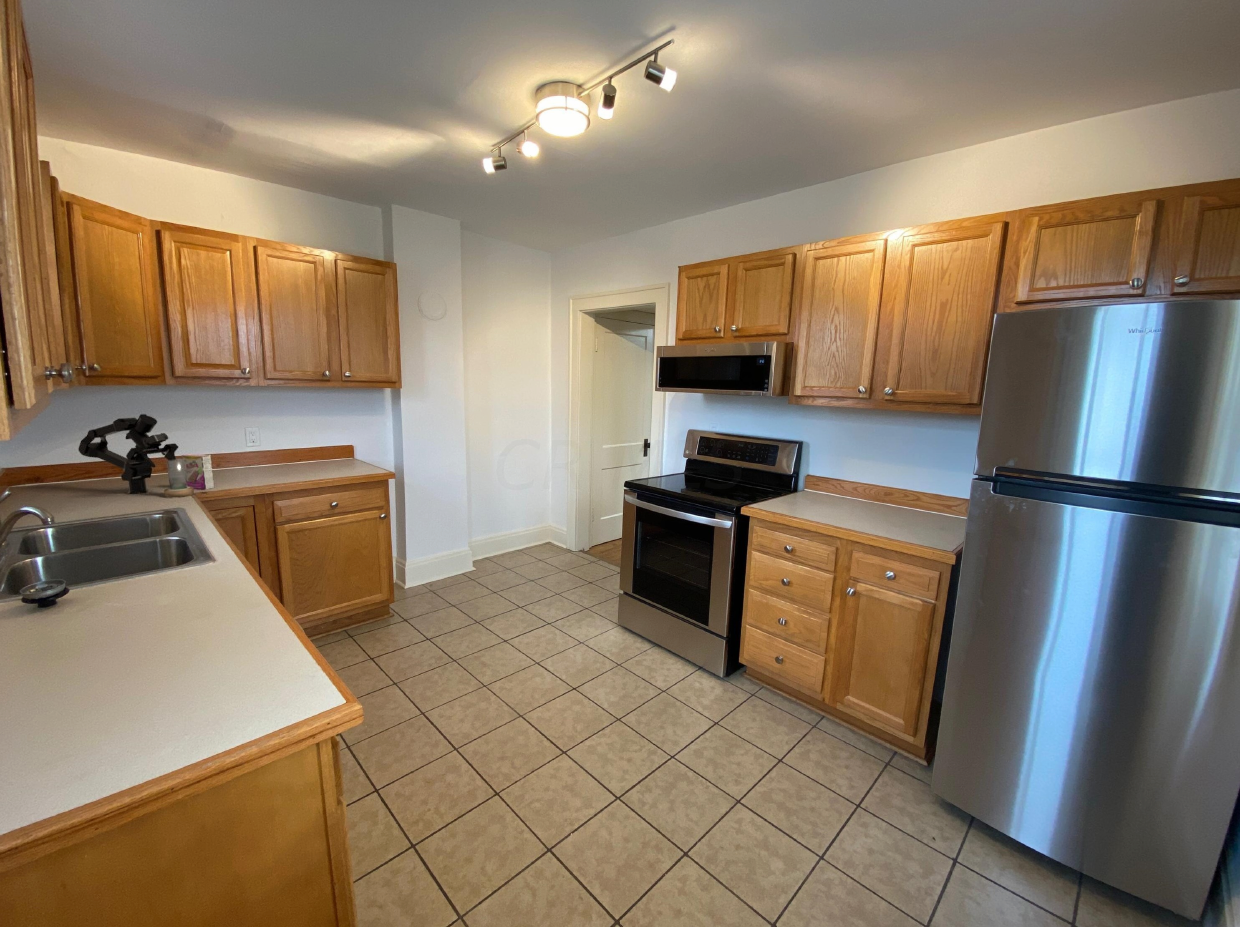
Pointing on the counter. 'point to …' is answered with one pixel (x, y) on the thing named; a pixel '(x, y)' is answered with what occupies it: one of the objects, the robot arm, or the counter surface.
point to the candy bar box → (198, 471)
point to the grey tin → (176, 474)
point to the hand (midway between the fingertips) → (165, 465)
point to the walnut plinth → (179, 492)
